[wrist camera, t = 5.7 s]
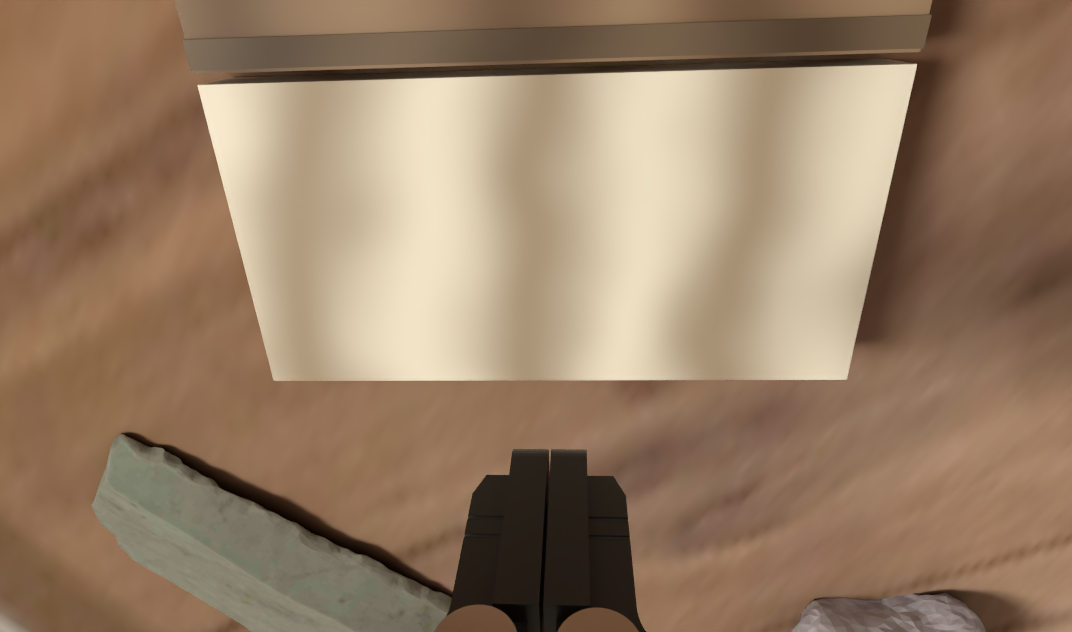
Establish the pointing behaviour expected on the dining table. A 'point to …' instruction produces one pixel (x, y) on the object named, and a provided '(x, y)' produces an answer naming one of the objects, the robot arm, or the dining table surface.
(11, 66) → the dining table surface
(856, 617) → the stone block
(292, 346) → the ash plank
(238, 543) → the stone slab
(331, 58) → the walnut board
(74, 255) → the dining table surface
